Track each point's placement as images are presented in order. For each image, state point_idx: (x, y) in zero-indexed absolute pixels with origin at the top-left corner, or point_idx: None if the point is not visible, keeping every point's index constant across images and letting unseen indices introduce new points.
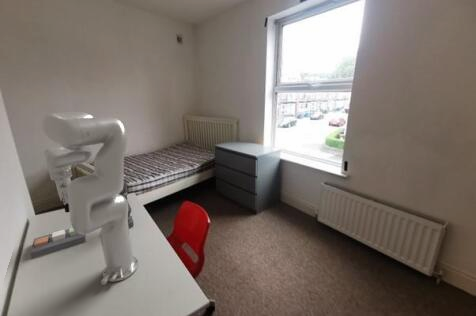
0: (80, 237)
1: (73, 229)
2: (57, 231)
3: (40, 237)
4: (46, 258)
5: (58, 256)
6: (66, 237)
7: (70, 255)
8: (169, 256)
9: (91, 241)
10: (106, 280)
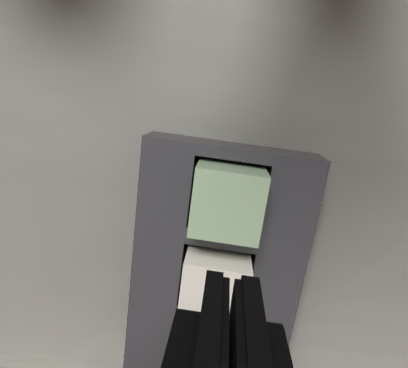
0: (322, 185)
1: (234, 219)
2: (180, 301)
3: (131, 354)
4: (322, 328)
5: (352, 287)
6: (248, 251)
7: (397, 243)
8: None
9: (343, 125)
10: None
